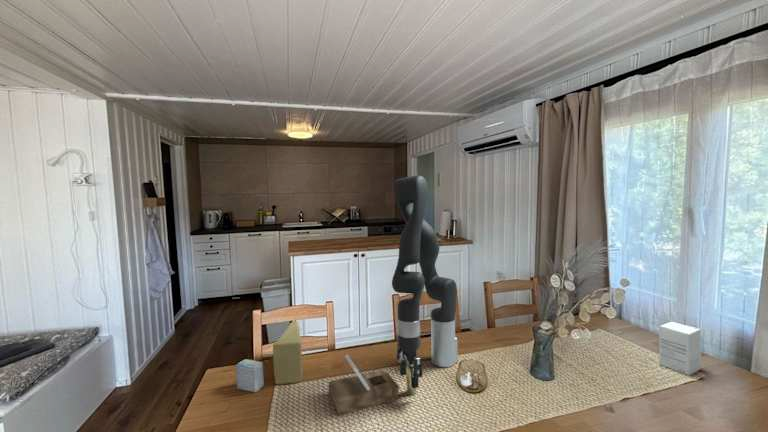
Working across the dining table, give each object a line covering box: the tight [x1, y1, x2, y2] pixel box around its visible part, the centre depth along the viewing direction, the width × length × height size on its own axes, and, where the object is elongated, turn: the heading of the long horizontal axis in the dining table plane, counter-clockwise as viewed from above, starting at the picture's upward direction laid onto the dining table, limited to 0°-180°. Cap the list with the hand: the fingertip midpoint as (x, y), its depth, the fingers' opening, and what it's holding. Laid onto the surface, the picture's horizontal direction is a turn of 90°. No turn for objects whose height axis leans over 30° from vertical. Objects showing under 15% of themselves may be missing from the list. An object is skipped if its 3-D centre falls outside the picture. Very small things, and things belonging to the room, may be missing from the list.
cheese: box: [272, 320, 303, 385], centre depth 122 cm, size 22×10×15 cm, turn 8°
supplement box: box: [658, 321, 702, 376], centre depth 117 cm, size 9×9×15 cm
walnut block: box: [328, 368, 400, 416], centre depth 104 cm, size 20×12×4 cm, turn 113°
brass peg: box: [405, 364, 417, 397], centre depth 105 cm, size 3×3×9 cm
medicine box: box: [235, 358, 265, 393], centre depth 110 cm, size 8×4×9 cm, turn 71°
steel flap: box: [344, 353, 370, 391], centre depth 103 cm, size 9×10×1 cm
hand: (409, 380), depth 105 cm, fingers open, 8 cm apart
